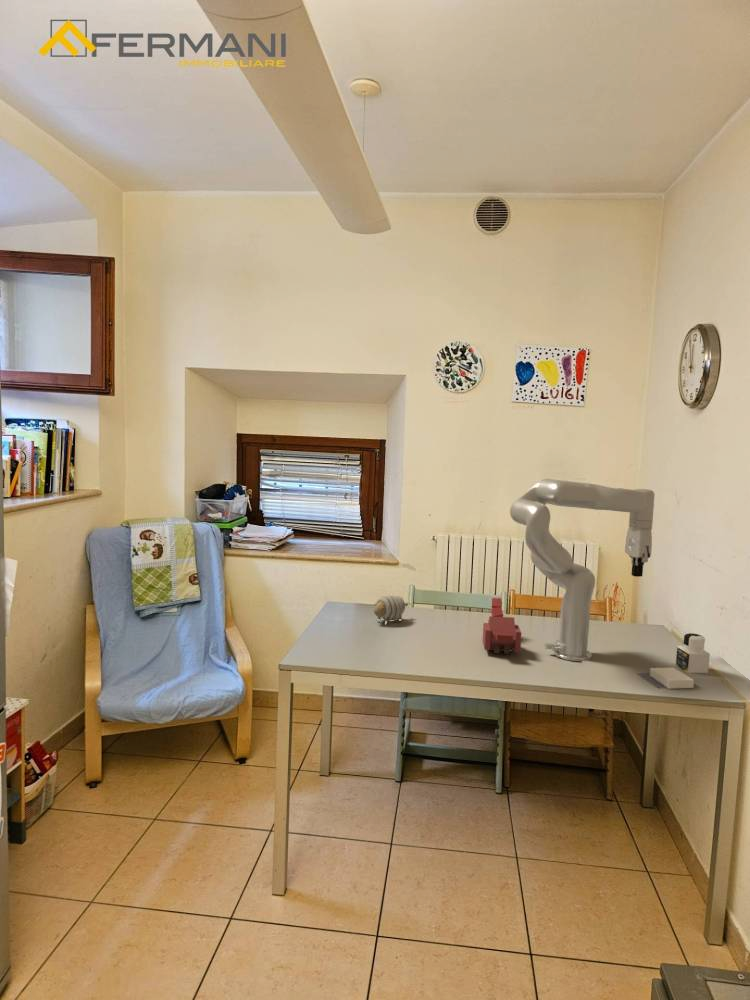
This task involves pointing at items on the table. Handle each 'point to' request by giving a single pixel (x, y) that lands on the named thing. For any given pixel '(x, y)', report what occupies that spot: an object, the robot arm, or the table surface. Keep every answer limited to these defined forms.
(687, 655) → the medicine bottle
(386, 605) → the toy sheep
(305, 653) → the table surface
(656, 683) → the mat
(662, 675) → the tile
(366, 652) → the table surface
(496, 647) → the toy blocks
